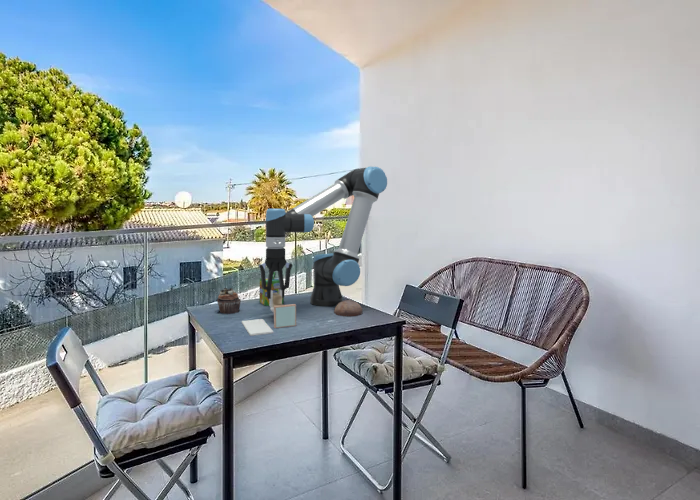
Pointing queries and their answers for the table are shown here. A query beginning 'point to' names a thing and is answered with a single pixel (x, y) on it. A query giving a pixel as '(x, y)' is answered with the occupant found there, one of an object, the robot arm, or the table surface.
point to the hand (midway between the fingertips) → (275, 306)
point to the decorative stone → (348, 308)
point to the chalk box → (274, 288)
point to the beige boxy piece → (276, 301)
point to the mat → (257, 327)
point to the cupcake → (228, 301)
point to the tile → (284, 316)
